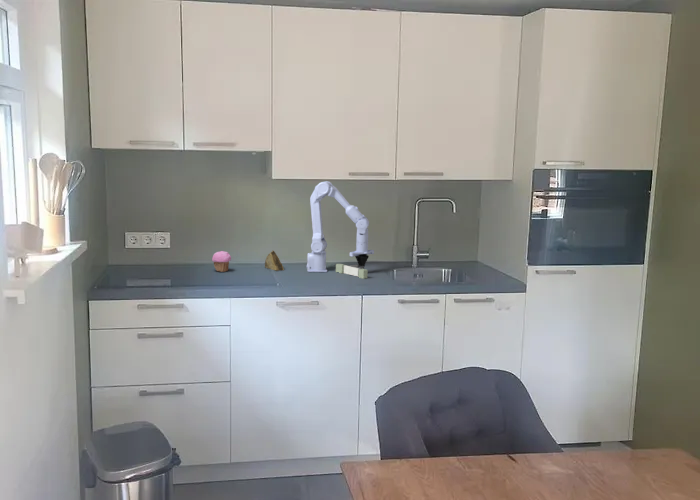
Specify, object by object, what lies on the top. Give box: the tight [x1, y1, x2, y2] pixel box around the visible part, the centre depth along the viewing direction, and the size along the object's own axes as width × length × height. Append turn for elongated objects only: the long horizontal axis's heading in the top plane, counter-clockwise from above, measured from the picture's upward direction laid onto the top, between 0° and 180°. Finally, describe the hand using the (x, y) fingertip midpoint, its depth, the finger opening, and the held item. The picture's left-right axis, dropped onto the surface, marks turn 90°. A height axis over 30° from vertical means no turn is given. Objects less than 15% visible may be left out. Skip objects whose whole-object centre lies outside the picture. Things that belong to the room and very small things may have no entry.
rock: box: [264, 250, 285, 272], centre depth 326 cm, size 11×9×10 cm
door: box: [343, 264, 361, 277], centre depth 315 cm, size 1×11×4 cm, turn 42°
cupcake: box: [211, 250, 232, 273], centre depth 315 cm, size 9×9×10 cm
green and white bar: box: [335, 263, 368, 279], centre depth 315 cm, size 2×20×4 cm, turn 42°
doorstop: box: [349, 264, 365, 269], centre depth 318 cm, size 5×5×4 cm
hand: (361, 269), depth 321 cm, fingers closed
